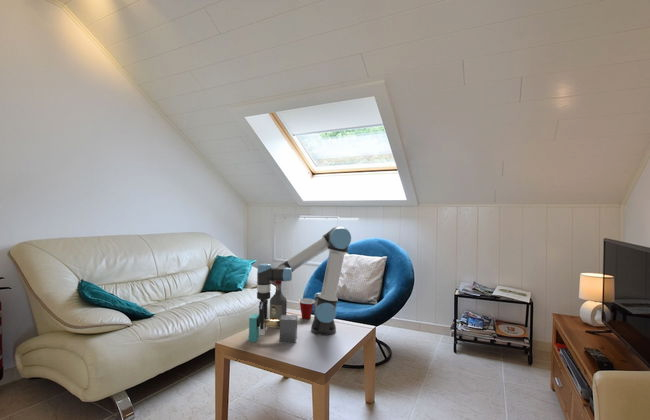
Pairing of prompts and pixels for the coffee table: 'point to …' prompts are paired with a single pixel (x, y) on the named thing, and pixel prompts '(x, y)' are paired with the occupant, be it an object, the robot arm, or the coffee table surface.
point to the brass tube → (270, 323)
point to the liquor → (278, 304)
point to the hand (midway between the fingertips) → (263, 332)
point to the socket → (253, 328)
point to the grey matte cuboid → (288, 328)
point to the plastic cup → (306, 307)
